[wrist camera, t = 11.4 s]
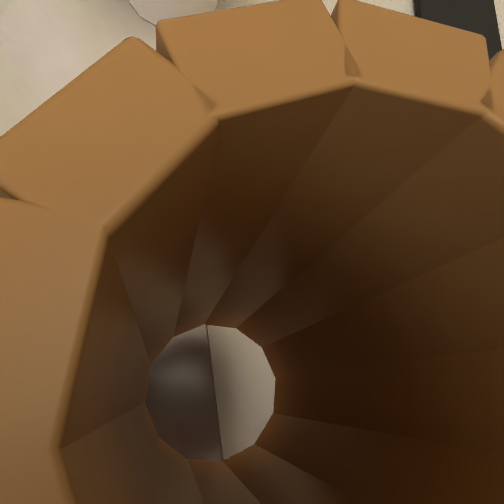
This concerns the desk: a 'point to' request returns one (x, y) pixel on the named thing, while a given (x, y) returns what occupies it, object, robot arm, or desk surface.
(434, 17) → the phone
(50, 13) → the desk surface
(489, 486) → the wooden stave pencil cup
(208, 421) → the pencil cup stand
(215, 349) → the desk surface
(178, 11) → the foam cup
